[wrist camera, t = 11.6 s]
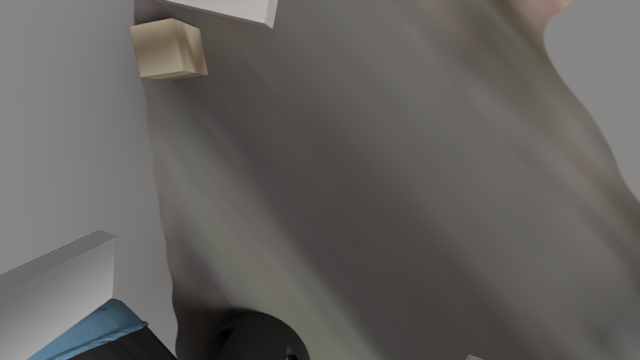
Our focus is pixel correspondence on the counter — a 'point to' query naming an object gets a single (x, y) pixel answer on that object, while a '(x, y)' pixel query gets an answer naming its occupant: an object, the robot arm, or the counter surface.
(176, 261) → the counter surface
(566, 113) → the counter surface
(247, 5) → the tile
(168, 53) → the maple block
